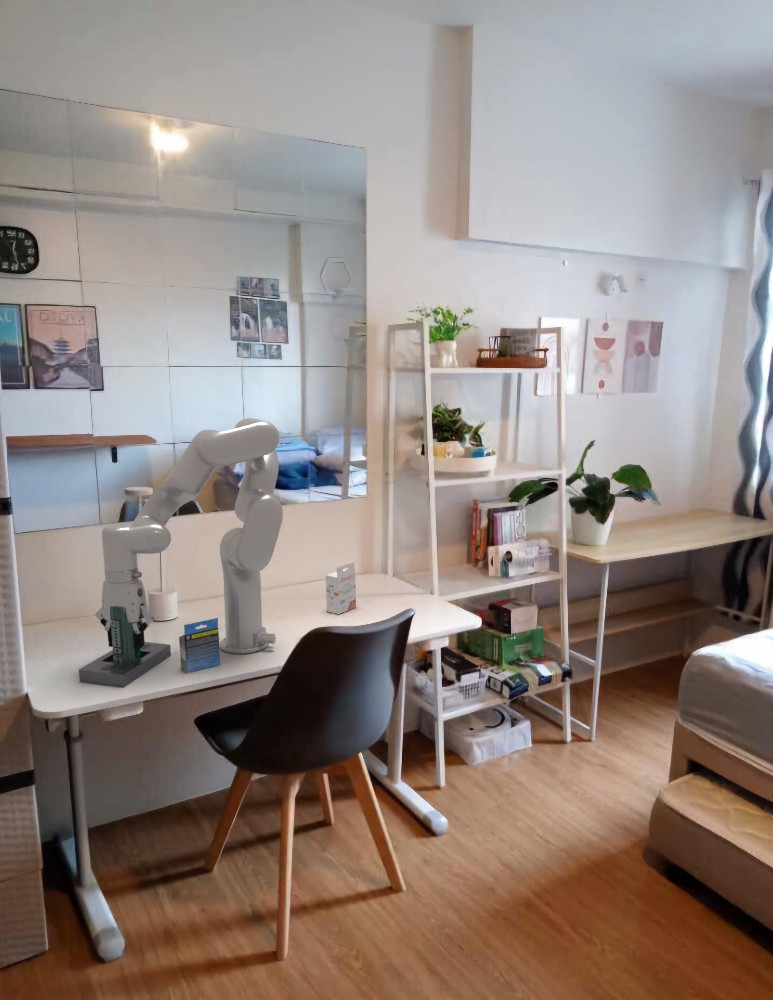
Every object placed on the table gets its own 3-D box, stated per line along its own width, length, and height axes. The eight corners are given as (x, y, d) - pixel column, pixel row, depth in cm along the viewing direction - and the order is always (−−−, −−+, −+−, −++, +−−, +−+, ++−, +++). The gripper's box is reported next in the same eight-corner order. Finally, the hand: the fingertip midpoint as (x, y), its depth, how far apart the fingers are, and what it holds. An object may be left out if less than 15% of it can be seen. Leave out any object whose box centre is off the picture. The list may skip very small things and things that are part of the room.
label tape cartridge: (214, 660, 190) (212, 613, 188) (220, 665, 187) (218, 617, 185) (180, 668, 185) (177, 620, 182) (186, 674, 182) (183, 625, 179)
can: (145, 662, 185) (141, 604, 182) (121, 669, 181) (116, 609, 178) (133, 656, 189) (129, 598, 186) (110, 663, 185) (105, 604, 182)
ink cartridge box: (344, 605, 234) (343, 559, 231) (356, 608, 231) (356, 561, 228) (325, 612, 227) (324, 564, 225) (338, 615, 224) (337, 567, 222)
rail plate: (170, 655, 193) (170, 644, 192) (124, 687, 174) (123, 674, 173) (130, 651, 196) (129, 639, 196) (79, 681, 177) (78, 669, 177)
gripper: (162, 573, 182) (166, 644, 185) (100, 569, 187) (105, 637, 190) (144, 582, 175) (149, 655, 178) (80, 577, 180) (86, 648, 183)
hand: (126, 645), depth 184 cm, fingers closed on can, 6 cm apart
